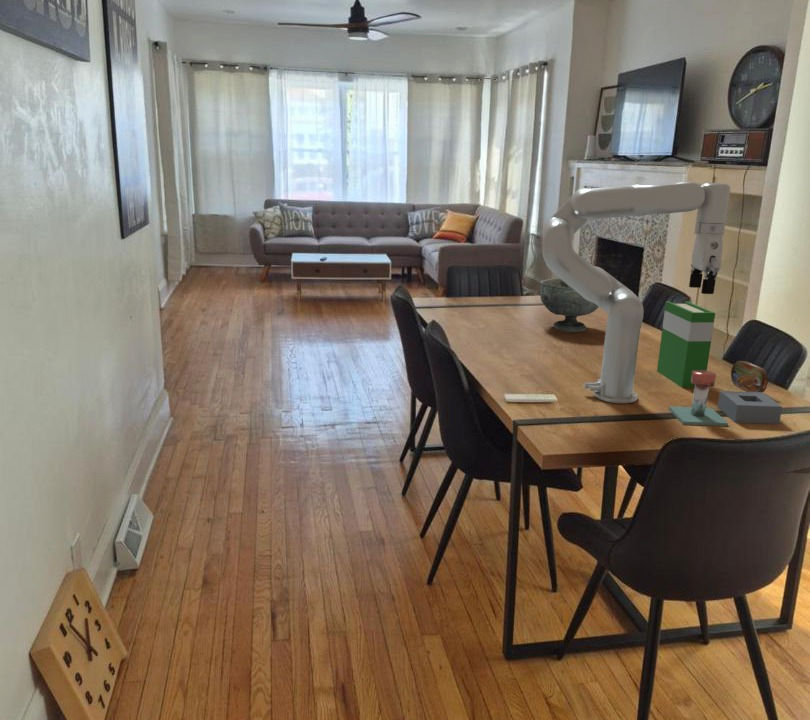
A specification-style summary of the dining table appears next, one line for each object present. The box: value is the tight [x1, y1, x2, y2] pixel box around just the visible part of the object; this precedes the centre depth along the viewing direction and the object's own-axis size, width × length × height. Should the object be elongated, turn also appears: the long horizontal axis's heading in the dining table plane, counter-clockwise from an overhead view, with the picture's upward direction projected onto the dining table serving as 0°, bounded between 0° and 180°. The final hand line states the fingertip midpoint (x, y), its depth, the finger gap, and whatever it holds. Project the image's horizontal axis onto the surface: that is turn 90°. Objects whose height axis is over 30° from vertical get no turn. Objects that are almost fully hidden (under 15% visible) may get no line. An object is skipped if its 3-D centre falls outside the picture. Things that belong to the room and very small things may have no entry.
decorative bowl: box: [539, 278, 600, 333], centre depth 292 cm, size 26×26×20 cm
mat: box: [668, 405, 729, 427], centre depth 195 cm, size 12×12×1 cm
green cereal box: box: [656, 300, 716, 389], centre depth 226 cm, size 18×7×24 cm, turn 6°
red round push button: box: [691, 370, 717, 417], centre depth 193 cm, size 6×6×12 cm
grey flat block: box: [717, 390, 783, 425], centre depth 197 cm, size 12×12×5 cm
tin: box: [730, 360, 769, 393], centre depth 219 cm, size 15×3×8 cm, turn 9°
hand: (700, 290), depth 198 cm, fingers open, 9 cm apart
